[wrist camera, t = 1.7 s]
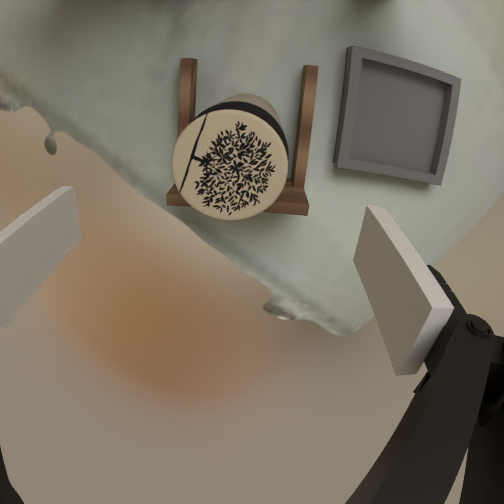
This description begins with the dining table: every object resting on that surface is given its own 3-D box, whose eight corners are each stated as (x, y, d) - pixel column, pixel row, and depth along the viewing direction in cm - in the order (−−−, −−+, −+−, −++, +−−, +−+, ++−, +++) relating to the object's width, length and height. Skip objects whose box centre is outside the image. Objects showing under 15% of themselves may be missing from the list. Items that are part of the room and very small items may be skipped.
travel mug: (292, 115, 34) (316, 148, 18) (257, 170, 37) (251, 244, 22) (232, 82, 32) (202, 83, 17) (199, 139, 36) (149, 191, 20)
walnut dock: (187, 60, 31) (166, 55, 24) (314, 67, 31) (327, 64, 24) (184, 180, 38) (166, 205, 32) (299, 189, 38) (307, 215, 32)
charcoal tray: (347, 47, 29) (352, 45, 27) (451, 77, 29) (461, 78, 27) (332, 161, 36) (337, 167, 34) (432, 179, 36) (440, 185, 34)
